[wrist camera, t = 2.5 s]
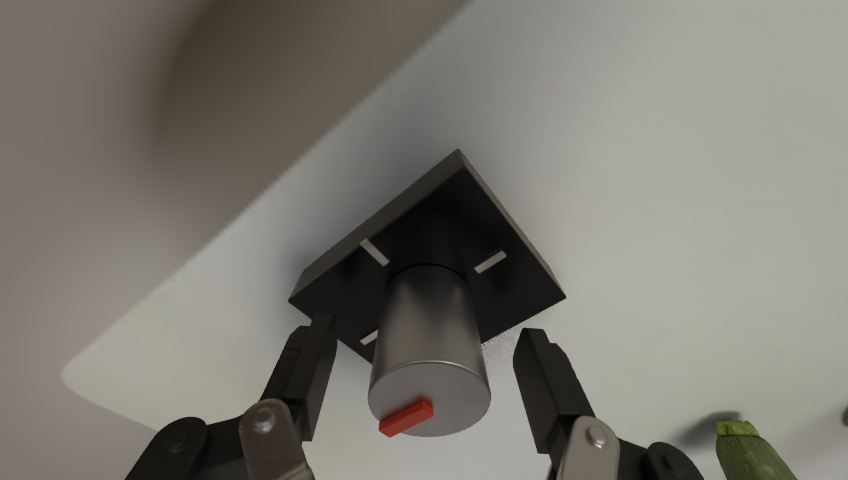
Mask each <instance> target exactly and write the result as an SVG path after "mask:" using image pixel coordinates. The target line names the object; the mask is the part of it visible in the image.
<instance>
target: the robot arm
mask: <svg viewBox="0 0 848 480" xmlns="http://www.w3.org/2000/svg"><path fill="white" fill-rule="evenodd" d="M336 350H337V327H336V315H335V314H328V313H315V315H314V317H313V319H312V322H311V324H310V326H299V327H298V328H297V329H296V330H295V331H294V332H293V333H292V334H291V335H290V336H289V338H288V340H287V342H286V344H285V346H284V350H283V351H282V353H281V355H280V359H279V360H278V362H277V364H276V366H275V368H274V370H273V373H272V375H271V377H270V379H269V381H268V384H267V386H266V388H265V390H264V392H263V394H262V396H261V398H260V400H259V401H258V402H257V403H255V404H254V405H252V406H251V407H250V408H249V409H248V410H247V411H246V412H245V413H244V414H243V415H241V416H238V417H236V418H233V419H229V420H225V421H221V422H217V423H213V424H209V425H206V423H205V422H204V421H203V420H202V419H200V418H197V417H185V418H181V419H178V420H176V421H174V422H172V423H170V424H168V425H167V426H165V427H164V428H163V429H161V430H160V431H159V432H158V433H157V434H156V435H155V436H154V438H153V439H152V441H151V442H150V443H149V445H148V446H147V448H146V449H145V451H144V452H143V454H142V455H141V456H140V458H139V459H138V461H137V462H136V464H135V465H134V467H133V468H132V470H131V471H130V473H129V474H128V475H127V477H126V478H125V480H315V477H314V474H313V472H312V470H311V468H310V467H309V466H308V463H307V460H306V458H305V455H304V452H303V449H302V446H301V445H302V441H312V438H313V435H314V431H315V428H316V424H317V420H318V417H319V413H320V410H321V406H322V402H323V399H324V395H325V392H326V388H327V385H328V381H329V377H330V374H331V370H332V367H333V363H334V359H335V355H336ZM513 368H514V372H515V375H516V379H517V382H518V386H519V389H520V393H521V396H522V400H523V403H524V407H525V410H526V414H527V417H528V421H529V424H530V428H531V431H532V434H533V438H534V441H535V445H536V448H537V452H538V453H539V454H549V455H550V459H551V462H552V463H551V465H550V467H549V470H548V474H547V477H546V480H704V478H703V477H702V475H701V474H700V472H699V471H698V469H697V467H696V466H695V465H694V463H693V462H692V461H691V460H690V459H689V458H688V457H687V456H686V455H685V454H684V453H683V452H682V451H680V450H679V449H677V448H676V447H674V446H672V445H670V444H667V443H664V442H655V443H653V444H651V445H650V446H649V448H648V449H646V448H643V447H641V446H638V445H635V444H632V443H630V442H627V441H624V440H622V439H619V438H618V437H617V436H616V435H615V433H614V432H613V431H612V429H611V428H610V427H609V426H608V425H606V424H605V423H604V422H602V421H601V420H599V419H597V418H596V416H595V414H594V412H593V410H592V408H591V406H590V404H589V401H588V399H587V397H586V395H585V393H584V391H583V389H582V387H581V385H580V382H579V380H578V379H577V378H576V374H575V372H574V370H573V369H572V365H571V363H570V361H569V359H568V357H567V355H566V354H565V352H564V351H563V350H562V349H561V348H560V347H559V346H558V345H557V344H556V343H550V342H549V340H548V338H547V335H546V333H545V331H544V330H543V329H534V328H523V329H522V331H521V334H520V337H519V339H518V342H517V345H516V348H515V351H514V355H513Z"/></svg>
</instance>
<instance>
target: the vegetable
mask: <svg viewBox="0 0 848 480" xmlns="http://www.w3.org/2000/svg"><path fill="white" fill-rule="evenodd" d="M716 433H717V436H718V438H717V441H716V453H717V457H718V459H719V462H720V465H721V467H722V469H723V471H724V474H725V476H726V478H727V480H797V478H796V477H795V476H794V475H793V473H792V472H791V470H790V469H789V468H788V466H787V465H786V464H785V462H784V461H783V460H782V459H781V457H780V456H779V455H778V454H777V452H776V451H775V449H774V448H773V447H772V446H771V445H770V444H769V443H768V442H767V441H766V440H764V439H763V438H761V437H760V436H759V433H758V431H757V430H756V429H755V428H754V426H753V425H752V424H751V423H749V422H748V421H745V422H742V421H740V420H738V418H736V417H734V418H733V419H732V421H716Z"/></svg>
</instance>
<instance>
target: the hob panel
mask: <svg viewBox="0 0 848 480" xmlns="http://www.w3.org/2000/svg"><path fill="white" fill-rule="evenodd" d="M422 265H433V266H439V267H443V268H446V269H449V270H451V271H453V272H455V273H456V274H457V275H459V276H460V277H461V278H462V279H463V280H464V281H465V282H466V284H467V285H468V287H469V290H470V292H471V297H472V302H473V307H474V312H475V317H476V322H477V327H478V332H479V337H480V342H481V344H483V343H484V342H486V341H488V340H490V339H492V338H494V337H495V336H497V335H499V334H501V333H503V332H505V331H507V330H508V329H510V328H512V327H514V326H516V325H518V324H519V323H521V322H523V321H525V320H527V319H529V318H531V317H532V316H534V315H536V314H538V313H540V312H542V311H543V310H545V309H547V308H549V307H551V306H553V305H555V304H556V303H558V302H560V301H562V300H564V299H566V295H565V293H564V292H563V290H562V288H561V286H560V285H559V283H558V281H557V280H556V278H555V276H554V274H553V273H552V271H551V269H550V267H549V266H548V265H547V263H546V262H545V261H544V259H543V258H542V257H541V255H540V254H539V253H538V252H537V250H536V249H535V248H534V246H533V245H532V244H531V242H530V241H529V240H528V238H527V237H526V236H525V234H524V233H523V232H522V231H521V229H520V228H519V227H518V225H517V224H516V223H515V221H514V220H513V219H512V217H511V216H510V215H509V213H508V212H507V211H506V210H505V208H504V207H503V206H502V204H501V203H500V202H499V200H498V199H497V198H496V196H495V195H494V194H493V192H492V191H491V190H490V189H489V187H488V186H487V185H486V183H485V182H484V181H483V179H482V178H481V177H480V175H479V174H478V173H477V171H476V170H475V169H474V168H473V166H472V165H471V164H470V162H469V161H468V160H467V158H466V157H465V156H464V154H463V153H462V152H461V150H460V149H457V150H455V151H454V152H453V153H452V154H450V155H449V156H448V157H447V158H445V159H444V160H443V161H442V162H440V163H439V164H438V165H436V166H435V167H434V168H433V169H431V170H430V171H429V172H428V173H426V174H425V175H424V176H422V177H421V178H420V179H419V180H417V181H416V182H415V183H414V184H412V185H411V186H410V187H409V188H407V189H406V190H405V191H403V192H402V193H401V194H400V195H398V196H397V197H396V198H395V199H393V200H392V201H391V202H390V203H388V204H387V205H386V206H384V207H383V208H382V209H381V210H379V211H378V212H377V213H376V214H374V215H373V216H372V217H370V218H369V219H368V220H367V221H365V222H364V223H363V224H362V225H360V226H359V227H358V228H357V229H355V230H354V231H353V232H351V233H350V234H349V235H348V236H346V237H345V238H344V239H343V240H341V241H340V242H339V243H338V244H336V245H335V246H334V247H332V248H331V249H330V250H329V251H327V252H326V253H325V254H324V255H322V256H321V257H320V258H319V259H317V260H316V261H315V262H313V263H312V264H311V265H310V266H308V267H307V268H306V269H305V270H304V271H303V273H302V275H301V277H300V279H299V280H298V282H297V284H296V286H295V288H294V290H293V292H292V294H291V296H290V298H289V299H288V302H289V303H290V304H292V305H293V306H294V307H296V308H297V309H298V310H300V311H301V312H302V313H304V314H305V315H306V316H308V317H309V318H310V319H313V317H314V315H315V313H328V314H335V315H336V327H337V339H339V340H340V341H341V342H343V343H344V344H345V345H347V346H348V347H349V348H351V349H352V350H353V351H355V352H356V353H357V354H359V355H360V356H361V357H363V358H364V359H365V360H367V361H368V362H369V363H371V364H372V365H373V359H374V352H375V346H376V339H377V333H378V326H379V320H380V313H381V307H382V300H383V294H384V291H385V288H386V286H387V285H388V283H389V282H390V281H391V280H392V279H393V278H394V277H395V276H396V275H397V274H399V273H400V272H402V271H404V270H406V269H409V268H412V267H416V266H422Z"/></svg>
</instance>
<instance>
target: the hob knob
mask: <svg viewBox="0 0 848 480" xmlns="http://www.w3.org/2000/svg"><path fill="white" fill-rule="evenodd" d="M490 401H491V392H490V387H489V382H488V377H487V372H486V367H485V362H484V357H483V352H482V347H481V342H480V337H479V332H478V327H477V322H476V317H475V312H474V307H473V302H472V297H471V292H470V290H469V287H468V285H467V284H466V282H465V281H464V280H463V279H462V278H461V277H460V276H459V275H457V274H456V273H455V272H453V271H451V270H449V269H446V268H443V267H439V266H433V265H422V266H416V267H412V268H409V269H406V270H404V271H402V272H400V273H399V274H397V275H396V276H395V277H394V278H393V279H392V280H391V281H390V282H389V283H388V285H387V286H386V288H385V291H384V294H383V300H382V307H381V313H380V320H379V326H378V333H377V339H376V346H375V352H374V359H373V365H372V372H371V378H370V385H369V391H368V404H369V407H370V410H371V412H372V414H373V415H374V416H375V418H376V419H377V420H378V421H380V423H379V431H380V432H381V433H383V434H385V435H386V436H388V437H392V436H394V435H396V434H398V433H403V434H407V435H413V436H421V437H436V436H444V435H449V434H453V433H457V432H460V431H462V430H465V429H467V428H469V427H471V426H472V425H474V424H475V423H477V422H478V421H479V420H480V419H481V418H482V417H483V416H484V415H485V413H486V412H487V410H488V408H489V405H490Z"/></svg>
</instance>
